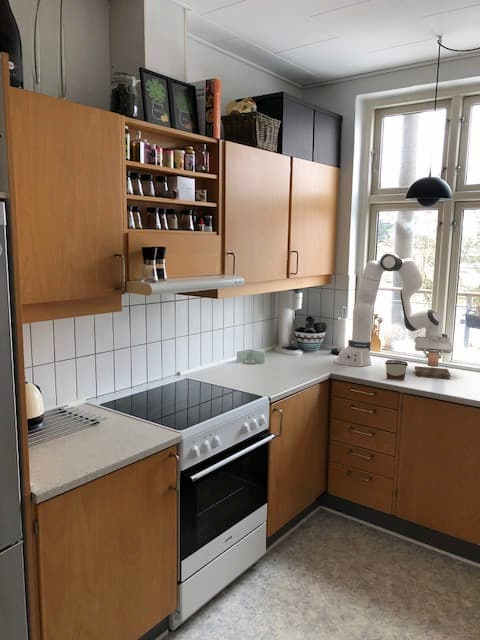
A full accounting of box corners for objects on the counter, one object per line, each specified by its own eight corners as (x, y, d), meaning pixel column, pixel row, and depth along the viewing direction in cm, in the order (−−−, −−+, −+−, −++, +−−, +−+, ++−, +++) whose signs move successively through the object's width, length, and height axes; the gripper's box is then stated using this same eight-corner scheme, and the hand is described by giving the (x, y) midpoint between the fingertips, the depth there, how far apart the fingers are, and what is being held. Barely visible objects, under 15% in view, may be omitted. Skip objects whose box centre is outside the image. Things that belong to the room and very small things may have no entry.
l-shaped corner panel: (236, 363, 307) (236, 351, 306) (250, 360, 316) (250, 349, 315) (251, 367, 299) (251, 355, 298) (264, 364, 308) (265, 352, 307)
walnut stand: (415, 376, 289) (416, 371, 289) (414, 370, 302) (414, 366, 301) (449, 379, 285) (450, 374, 284) (447, 373, 297) (447, 368, 297)
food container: (404, 377, 285) (405, 360, 284) (406, 380, 279) (408, 362, 278) (381, 376, 286) (383, 358, 285) (383, 379, 280) (385, 361, 279)
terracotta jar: (427, 366, 290) (429, 350, 289) (426, 364, 296) (428, 348, 295) (438, 367, 289) (440, 351, 288) (437, 365, 294) (438, 349, 293)
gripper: (415, 333, 300) (414, 352, 292) (452, 335, 295) (453, 355, 287) (414, 339, 305) (413, 358, 297) (450, 342, 300) (451, 361, 292)
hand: (433, 357), depth 292 cm, fingers closed on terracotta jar, 6 cm apart
